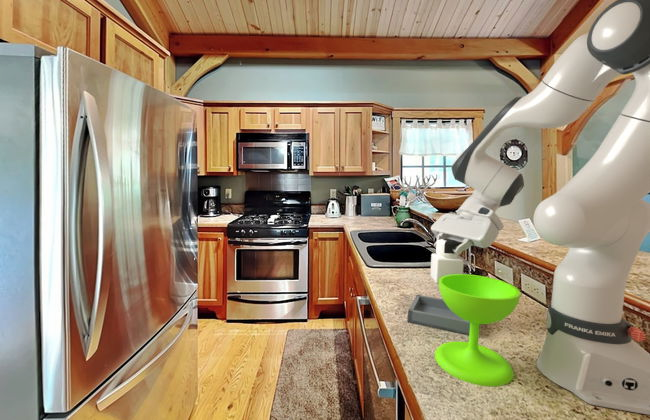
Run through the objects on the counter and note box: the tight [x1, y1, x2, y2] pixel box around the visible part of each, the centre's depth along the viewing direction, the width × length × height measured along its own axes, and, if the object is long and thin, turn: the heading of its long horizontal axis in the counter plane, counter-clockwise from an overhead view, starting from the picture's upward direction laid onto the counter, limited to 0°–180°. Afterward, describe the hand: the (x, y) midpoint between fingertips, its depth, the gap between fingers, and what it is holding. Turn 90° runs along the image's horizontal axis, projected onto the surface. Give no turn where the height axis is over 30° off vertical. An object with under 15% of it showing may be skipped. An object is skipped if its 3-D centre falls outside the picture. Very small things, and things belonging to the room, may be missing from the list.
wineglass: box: [434, 273, 521, 387], centre depth 68 cm, size 16×16×18 cm
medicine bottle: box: [429, 239, 464, 285], centre depth 88 cm, size 7×7×12 cm
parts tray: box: [407, 294, 470, 336], centre depth 90 cm, size 18×14×4 cm
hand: (445, 250), depth 88 cm, fingers closed on medicine bottle, 6 cm apart
